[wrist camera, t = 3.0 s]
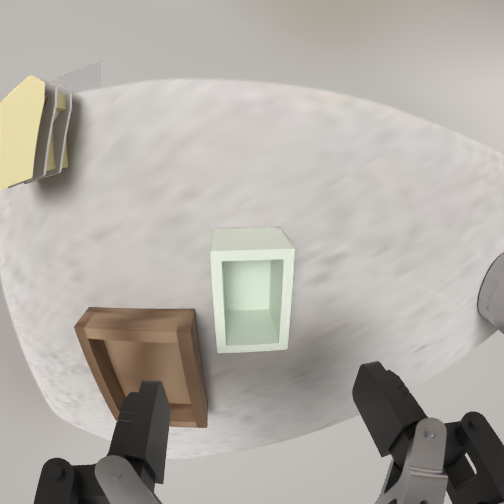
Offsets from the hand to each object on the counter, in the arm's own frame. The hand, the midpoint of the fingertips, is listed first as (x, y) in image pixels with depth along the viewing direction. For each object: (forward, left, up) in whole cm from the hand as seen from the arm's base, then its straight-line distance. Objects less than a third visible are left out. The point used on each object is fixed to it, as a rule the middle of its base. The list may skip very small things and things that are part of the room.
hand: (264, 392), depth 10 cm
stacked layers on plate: (+15, -12, -12) cm, 23 cm away
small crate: (0, 0, -12) cm, 12 cm away
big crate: (+9, +9, -12) cm, 17 cm away
